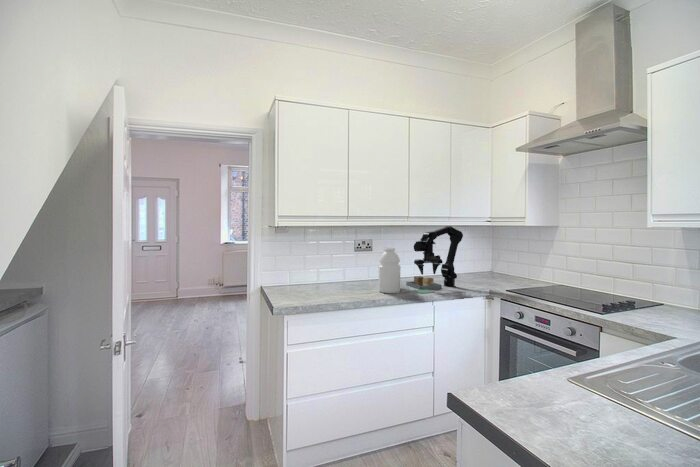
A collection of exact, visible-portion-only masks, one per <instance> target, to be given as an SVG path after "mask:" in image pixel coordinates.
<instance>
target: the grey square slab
mask: <svg viewBox="0 0 700 467" xmlns="http://www.w3.org/2000/svg"><path fill="white" fill-rule="evenodd" d="M406 286H407V287H410V288H413V289H415V290H421V289H427V290H438V289H439V290H440V289H441V290H442V286H443V285H442V284H441V283H440V284H439V283H437V282H434V284H433V285H429V286H419V285H416V284H414V280H413V281H406Z"/></svg>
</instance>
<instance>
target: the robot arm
mask: <svg viewBox="0 0 700 467" xmlns="http://www.w3.org/2000/svg"><path fill="white" fill-rule="evenodd" d="M445 234H447V235H448V236H449V242H450V244H449V248H448V251H447V252H448V253H447V257H446V261H445V262H444V263H443V259H441V255H438V254H437V255H435V252H434V245H436V242H435V240H436V239H437V238H438V237H440V236H444V235H445ZM463 237H464V233H463V232H462V231H461V230H459V229H457V228H454V227H453V226H452V225H450V226H449V225H447V226H444V227H441V228H439V229H436V230H434V231H425V232H423V234H422V236H421V238H420V239H419V240H417V241H415V243H414V245H413V250H414V251H415V252H417V253H418V252H422V254H423V258H422V259H419V258H418V259H414V262H413V263H414V265H416V266H417V268H418V270H419V272H420V274H421V275H422V276H423V275H424V267H425V264H430V263H431V265H432V272H433V275H436V272H437V269H438V268H439V266H441V268H440V272H441V275H442V278H444V279H443V285H442V286H443V287H447V288H453V287H454V288H457V287H456V286H457V285H456V284H455V282H456V281H455V280H456V279H457V277H458V275H457V273H456V272H455V265H454V262H455V258H456V254H457V249H458V245H459V244H460V243H461V241H462V240H463Z"/></svg>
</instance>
